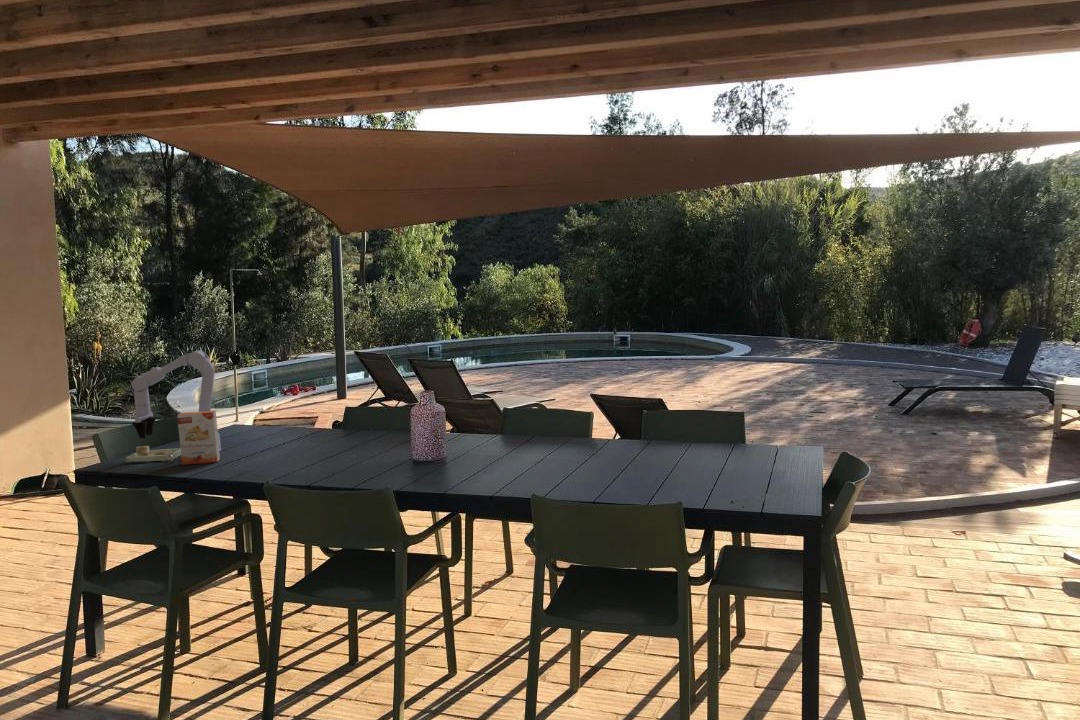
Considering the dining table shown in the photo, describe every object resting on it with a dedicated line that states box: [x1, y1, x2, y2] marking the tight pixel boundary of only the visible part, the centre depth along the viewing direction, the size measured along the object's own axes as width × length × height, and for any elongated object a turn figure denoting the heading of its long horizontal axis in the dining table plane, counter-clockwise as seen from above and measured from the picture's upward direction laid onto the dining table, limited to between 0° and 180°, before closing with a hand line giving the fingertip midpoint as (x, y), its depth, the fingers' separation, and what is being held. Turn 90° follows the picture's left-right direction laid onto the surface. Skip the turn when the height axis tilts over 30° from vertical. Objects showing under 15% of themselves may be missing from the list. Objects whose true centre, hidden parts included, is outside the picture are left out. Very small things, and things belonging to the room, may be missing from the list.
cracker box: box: [177, 410, 221, 466], centre depth 358 cm, size 14×6×21 cm, turn 99°
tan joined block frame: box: [135, 445, 174, 457], centre depth 372 cm, size 14×9×5 cm, turn 92°
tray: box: [124, 447, 181, 463], centre depth 372 cm, size 19×14×2 cm
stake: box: [166, 451, 174, 464], centre depth 360 cm, size 2×4×5 cm, turn 3°
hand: (146, 436), depth 374 cm, fingers open, 7 cm apart
